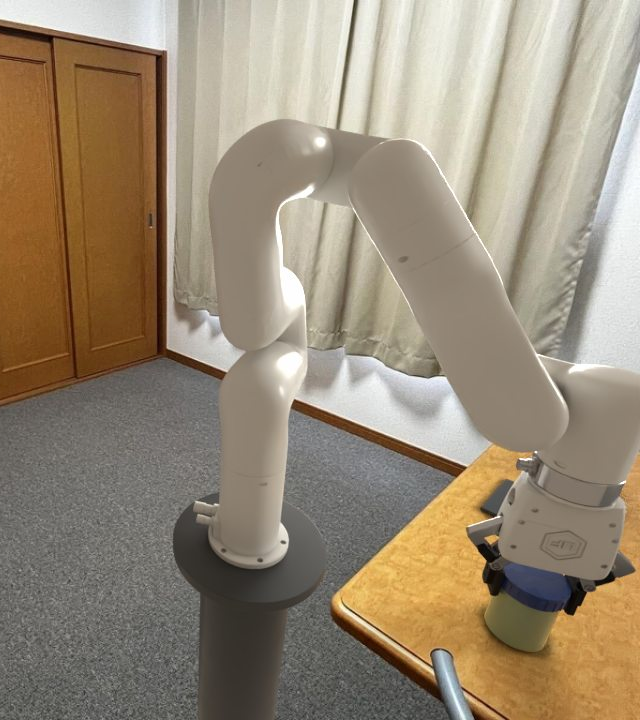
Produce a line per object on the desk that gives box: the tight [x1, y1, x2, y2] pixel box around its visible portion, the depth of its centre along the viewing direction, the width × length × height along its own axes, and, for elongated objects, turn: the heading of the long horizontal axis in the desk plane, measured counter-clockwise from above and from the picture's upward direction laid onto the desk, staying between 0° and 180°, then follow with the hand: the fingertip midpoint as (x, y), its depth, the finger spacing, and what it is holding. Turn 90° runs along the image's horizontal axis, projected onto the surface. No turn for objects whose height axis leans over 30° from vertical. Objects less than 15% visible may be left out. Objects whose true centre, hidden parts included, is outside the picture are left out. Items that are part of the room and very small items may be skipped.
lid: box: [501, 562, 572, 612], centre depth 57 cm, size 7×7×2 cm
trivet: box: [480, 478, 515, 518], centre depth 80 cm, size 12×12×1 cm
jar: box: [483, 587, 561, 653], centre depth 59 cm, size 6×6×9 cm
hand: (527, 595), depth 58 cm, fingers closed on lid, 7 cm apart
